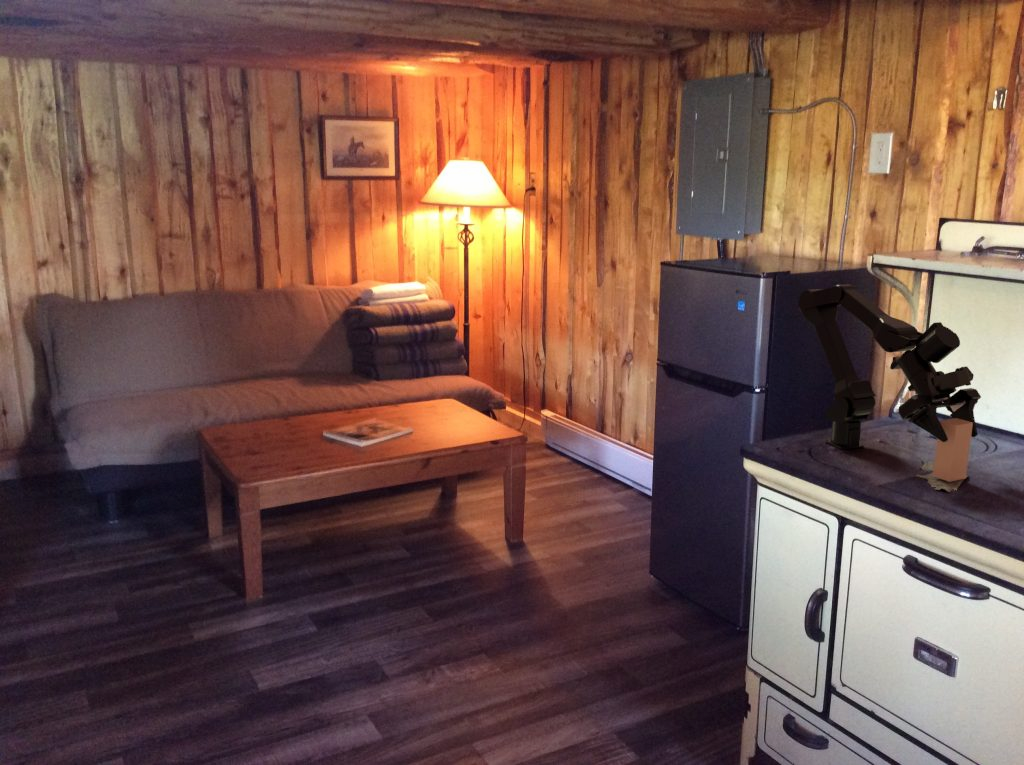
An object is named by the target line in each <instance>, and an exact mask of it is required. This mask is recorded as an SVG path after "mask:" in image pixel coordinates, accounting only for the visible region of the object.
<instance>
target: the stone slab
mask: <svg viewBox="0 0 1024 765" xmlns="http://www.w3.org/2000/svg"><path fill="white" fill-rule="evenodd" d="M934 462H935V461H932V460H930V461H925V462H924V463H923V465H922V466H921V469H922V470H926V471H931V472H930V473H928V474H923V475H922V474H915V477H918V478H923V479H926V480H928V481H927V484H928V483H929V484H930V485H931V486H930V485H929V484H928V485H929V486H930V488H932V487H936V488H934V489H935V490H934V491H940V490H942V489H943V490H945V491H946V492H948V493H949V494H951V493H950V491H951V490H952V489H954V490H952V491H955V490H956V491H957V490H958V488H959V487H960V485H961V484H962V483H963V482H964V480H965V479H960V480H956V481H951V482H949V481H946V480H943V479H940V478H937V477H934V476H933V471H934ZM968 477H969V475H968V474H967V473H966V478H968ZM952 491H951V492H952Z"/></svg>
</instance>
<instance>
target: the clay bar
mask: <svg viewBox="0 0 1024 765" xmlns="http://www.w3.org/2000/svg"><path fill="white" fill-rule="evenodd" d="M939 421H940V423H941V425H942V427H943V429H944V431H945V433H946V435H947V438H948V440H947V441H946V442H942V441H941V440H939V439H938V438H936V445H935V446H936V447H935V455H934V461H933V462H934V471H933V470H932V472H933V476H934V477H937V478H940V479H943V480H946V481H949V482H951V481H956V480H960V479H964V480H965V479H966V478H967V477H966V474H967V473H968V466H969V465H968V464H969V456H970V451H971V450H970V447H971V443H972V442H971V439H972V436H971V434H972V426H973V422H969V421H965V420H962V419H958V418H952V417H951V418H947V419H942V420H941V419H940V420H939Z"/></svg>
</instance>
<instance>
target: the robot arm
mask: <svg viewBox="0 0 1024 765" xmlns="http://www.w3.org/2000/svg"><path fill="white" fill-rule="evenodd" d="M797 306H798V308H799V309H798V310H799V311H800V312H801V315H802V316H803V318H804V319H805V320H806V322H808V323H809V324H810V325H811V326H813V328H814V329H815V331H816V335H817V336H818V340H819V341H820V344H821V347H822V350H823V353H824V355H825V358H826V361H827V363H828V365H829V369H830V371H831V373H832V377H833V379H834V382H835V386H834V390H833V395H832V396H833V399H834V400H833V401H834V402H833V403H832V404H831V405H830V406H828V408H826V409H825V416H826V420H828V421H831V423H832V424H831V425H832V426H831V435H830V439H825V441H824V442H825V443H826V444H829V445H831V446H833V447H836V448H837V449H839V450H850V449H860V448H861V449H862V448H865V444H862V443H861V434H862V429H861V427H862V422H861V421H869V420H868V419H869V417H870V415H871V413H872V412H873V410H874V408H875V405H876V399H875V398H876V396H877V394H876V393H875V392H874V390H873V388H872V384H871V383H872V382H870V381H869V379H863V380H862V379H861V378H860V377H859V376H858V374H857V373H856V369H855V368H854V367H855V366H854V365H853V362H852V359H851V357H850V354H849V352H848V349H847V346H846V344H845V340H844V338H843V335H842V333H841V331H840V328H839V326H838V324H837V316H838V311H839V307H838V306H841V307H843V308H844V309H845V310H846V311H848V313H850V314H851V315H852V316H854V317H855V318H856V319H857V320H859V322H861V323H862V324H863V325H864V326H865V327H867V328H868V329H869V330H870V331H871V332H872V334H873V338H874V340H875V342H876V343H877V344H878V345H879V347H881V349H882V350H883V351H885V352H886V353H899V352H901V353H902V354H900V355H899V356H893V357H892V361H891V363H890V368H889V369H890V370H899V369H900V370H901V371H902V372H903V374H904V376H905V378H906V379H907V381H908V382H909V384H910V385H909V386H908V387H907V390H908V392H915V394H916V395H911V397H909V398H908V399H906V400H905V401H904V402H903V403H902V404H900V406H898V414H899V416H900V418H901V421H906V420H907V421H908V422H909V423H912V424H913V425H916V426H917V427H919V428H921V429H922V430H924V431H926V432H927V433H929V434H930V435H932V436H933V437H934V438H936V439H937V438H938V439H939V440H941V441H942V442H946V441H947V440H948V438H947V435H946V433H945V431H944V429H943V427H942V425H941V423H940V421H941V420H939V417H938V415H937V412H938V410H937V409H939V408H945V409H946V410H947V411H948V412H950V414H949V416H950V417H951V419H952V418H958V419H962V420H965V421H969V422H973V426H972V434H971V438H976V437H977V436H978V429H977V425H976V420H975V416H974V415H975V413H974V408H975V405H976V404H977V403H978V401H979V400H980V399H981V398H982V396H981V394H980V393H979V391H978V390H977V388H973V387H969V388H960V389H959V390H957V389H958V388H959V387H963V386H971V385H972V384H971V382H972V381H973V380H974V377H975V376H974V373H973V372H972V371H971V370H970V369H969V367H968V366H961V367H957V368H955V371H949V372H946V373H945V372H944V371H942V370H938V371H937V370H936V368H935V367H934V366H933V364H939V363H940V362H942V361H943V360H944V359H945V358H947V357H948V356H949V355H950V354H952V353H953V352H954V351H955V350H956V349H958V348H959V347H960V345H961V340H960V337H959V336H958V334H957V333H956V332H954V331H953V330H952V329H950V328H949V327H947V326H945V325H944V324H943V323H942V322H941V321H940V322H939V321H938V322H932V324H930V326H929V327H928V328H927V329H926V330H925V331H924V332H920V331H918V329H917V328H916V327H915V326H913V325H912V324H910V323H908V322H906V321H904V320H903V319H899V318H896V317H892V316H890V315H889V314H887V313H886V312H885V311H883V310H882V309H881V308H880V307H879V306H878V305H876V304H875V303H874V302H872V301H871V300H869V299H868V298H867V297H866V296H865V295H863V294H861V292H859V291H858V289H857V288H856V287H855V286H854V285H852V284H847V283H846V284H836V285H834V286H831V287H827V288H819V289H805V290H804V291H802V292H801V293H800V295H799V298H798V300H797ZM932 363H933V364H932Z"/></svg>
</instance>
